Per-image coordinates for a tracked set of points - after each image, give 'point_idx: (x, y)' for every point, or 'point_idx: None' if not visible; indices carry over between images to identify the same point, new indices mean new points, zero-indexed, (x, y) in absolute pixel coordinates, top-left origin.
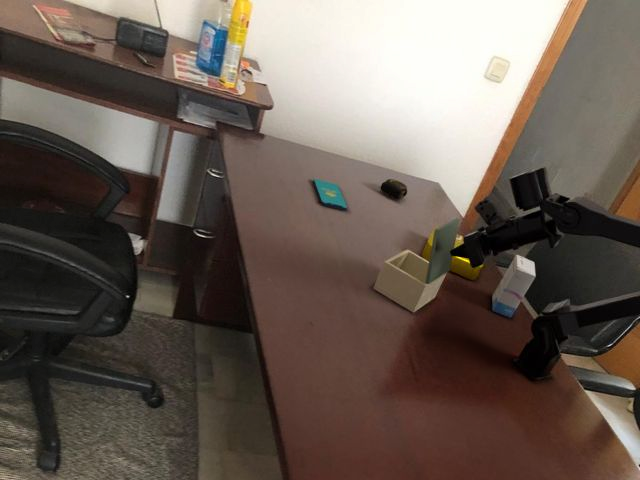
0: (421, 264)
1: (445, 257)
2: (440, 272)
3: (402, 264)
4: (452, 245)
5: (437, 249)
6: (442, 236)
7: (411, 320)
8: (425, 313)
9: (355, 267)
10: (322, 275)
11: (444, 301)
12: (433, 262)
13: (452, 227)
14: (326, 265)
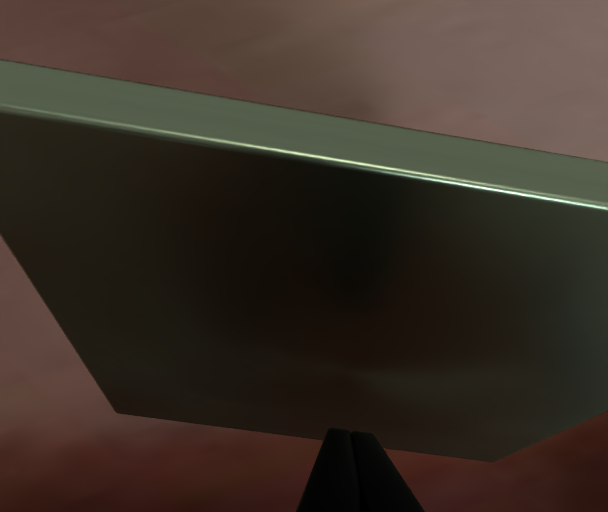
0: None
1: (393, 404)
2: (317, 429)
3: None
4: (559, 394)
5: (122, 309)
6: (206, 245)
7: (79, 426)
8: (217, 459)
9: (307, 90)
10: (117, 28)
11: (441, 496)
12: (101, 356)
13: (586, 266)
14: (208, 15)
